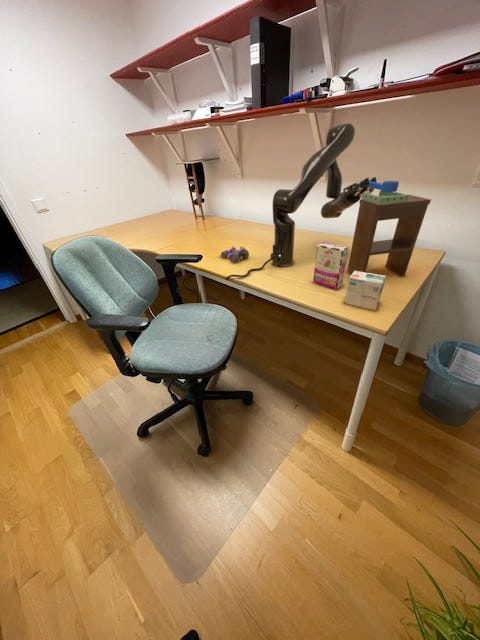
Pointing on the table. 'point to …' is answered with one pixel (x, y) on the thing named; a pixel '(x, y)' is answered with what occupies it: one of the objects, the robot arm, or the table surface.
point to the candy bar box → (330, 264)
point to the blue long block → (384, 186)
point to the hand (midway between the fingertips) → (371, 180)
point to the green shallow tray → (385, 197)
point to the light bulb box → (364, 289)
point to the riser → (397, 247)
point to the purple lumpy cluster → (235, 254)
